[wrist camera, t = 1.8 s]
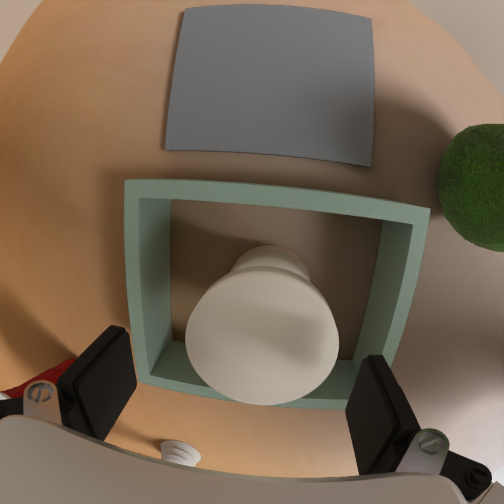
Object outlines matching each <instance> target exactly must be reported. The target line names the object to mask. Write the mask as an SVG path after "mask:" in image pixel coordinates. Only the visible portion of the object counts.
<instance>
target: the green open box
mask: <svg viewBox="0 0 504 504" xmlns="http://www.w3.org/2000/svg"><path fill="white" fill-rule="evenodd" d="M171 199H180V200H197V201H212V202H225V203H238V204H250V205H262V206H272V207H283V208H292V209H302V210H311V211H320V212H328V213H337V214H345V215H352V216H360V217H367V218H375V219H382V220H383V222H382V229H381V235H380V242H379V248H378V253H377V259H376V264H375V270H374V275H373V280H372V284H371V289H370V294H369V298H368V303H367V307H366V311H365V315H364V319H363V323H362V327H361V331H360V334H359V338H358V342H357V345H356V349H355V352H354V356H353V359H352V360H341V359H336V362H335V365H334V367H333V368H332V370H331V372H330V374H329V375H328V376H327V378H326V379H325V380H324V381H323V382H322V383H321V384H320V385H319V386H318V387H317V388H316V389H314V390H313V391H311V392H310V393H308V394H307V395H305V396H303V397H301V398H299V399H296V400H293V401H290V402H286V403H282V404H276V405H266V406H276V407H289V408H305V409H346V405H347V402H348V400H349V397H350V395H351V392H352V389H353V386H354V383H355V381H356V378H357V375H358V372H359V369H360V366H361V363H362V360H363V359H364V358H367V356H368V355H383V356H384V358H385V360H386V362H387V363H388V365H389V367H390V368H391V365H392V363H393V360H394V357H395V354H396V352H397V349H398V346H399V343H400V340H401V337H402V334H403V331H404V327H405V324H406V321H407V318H408V314H409V311H410V307H411V304H412V300H413V296H414V292H415V288H416V284H417V280H418V276H419V271H420V267H421V262H422V257H423V252H424V247H425V242H426V236H427V230H428V224H429V217H430V210H431V209H429V208H425V207H421V206H417V205H413V204H409V203H404V202H400V201H395V200H389V199H382V198H376V197H370V196H363V195H356V194H349V193H342V192H334V191H327V190H318V189H310V188H301V187H291V186H281V185H271V184H259V183H246V182H232V181H216V180H196V179H169V178H151V179H126V180H125V189H124V248H125V270H126V286H127V298H128V309H129V318H130V327H131V335H132V342H133V349H134V356H135V362H136V368H137V374H138V380H139V382H141V383H145V384H148V385H152V386H156V387H160V388H165V389H169V390H173V391H178V392H182V393H187V394H192V395H197V396H203V397H208V398H214V399H220V400H226V401H233V402H239V401H236V400H233V399H231V398H228V397H226V396H224V395H222V394H220V393H219V392H217V391H216V390H214V389H213V388H212V387H210V386H209V385H208V384H207V383H206V382H205V381H204V380H203V379H202V378H201V377H200V376H199V375H198V373H197V372H196V371H195V369H194V367H193V366H192V364H191V362H190V359H189V357H188V354H187V350H186V343H185V342H180V341H174V340H172V322H171V294H170V222H171ZM240 403H243V402H240Z"/></svg>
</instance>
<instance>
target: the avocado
mask: <svg viewBox="0 0 504 504" xmlns="http://www.w3.org/2000/svg"><path fill="white" fill-rule="evenodd" d="M437 189H438V196H439V199H440V203H441V206H442V209H443V213H444V216H445V217H446V219H447V220H448V221H449V223H450V224H451V225H452V227H453V228H454V229H455V230H456V231H457V232H458V233H459V234H460V235H461V236H462V237H463V238H464V239H466V240H468V241H470V242H471V243H473V244H475V245H477V246H479V247H483V248H486V249H489V250H493V251H496V252H504V124H482V125H476V126H470V127H468V128H466V129H465V130H463V131H461V132H460V133H458V134H457V135H456V136H455V137H454V139H453V140H452V141H451V142H450V144H449V146H448V148H447V149H446V151H445V153H444V154H443V156H442V159H441V164H440V168H439V172H438V176H437Z"/></svg>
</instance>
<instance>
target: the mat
mask: <svg viewBox="0 0 504 504" xmlns="http://www.w3.org/2000/svg"><path fill="white" fill-rule="evenodd" d="M373 130H374V51H373V34H372V21H371V19H370V18H366V17H362V16H357V15H352V14H347V13H342V12H336V11H330V10H323V9H315V8H307V7H297V6H284V5H259V4H242V5H217V6H204V7H194V8H186V9H185V12H184V17H183V21H182V26H181V31H180V36H179V42H178V47H177V53H176V59H175V65H174V72H173V78H172V85H171V93H170V101H169V109H168V118H167V128H166V139H165V150H166V151H212V152H236V153H252V154H266V155H278V156H289V157H298V158H307V159H316V160H324V161H331V162H338V163H345V164H352V165H358V166H364V167H371V163H372V148H373Z"/></svg>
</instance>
